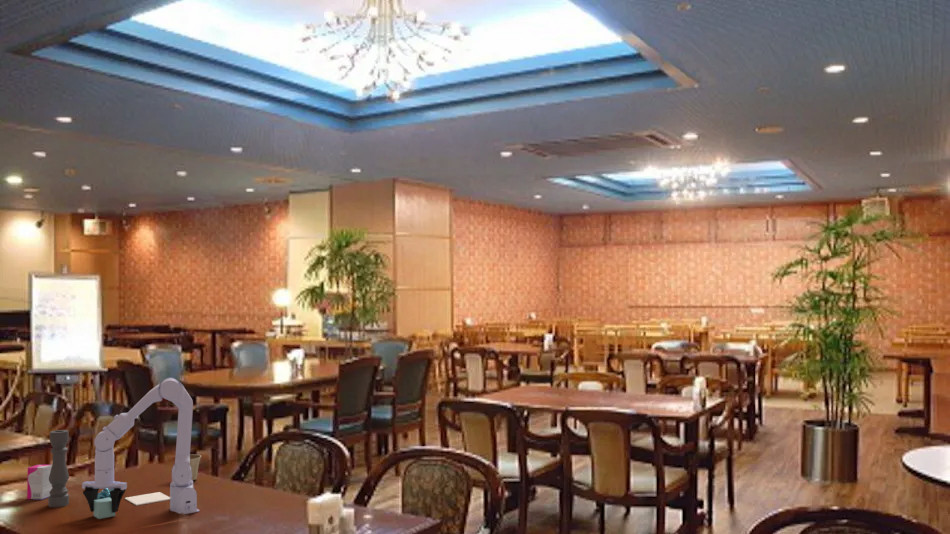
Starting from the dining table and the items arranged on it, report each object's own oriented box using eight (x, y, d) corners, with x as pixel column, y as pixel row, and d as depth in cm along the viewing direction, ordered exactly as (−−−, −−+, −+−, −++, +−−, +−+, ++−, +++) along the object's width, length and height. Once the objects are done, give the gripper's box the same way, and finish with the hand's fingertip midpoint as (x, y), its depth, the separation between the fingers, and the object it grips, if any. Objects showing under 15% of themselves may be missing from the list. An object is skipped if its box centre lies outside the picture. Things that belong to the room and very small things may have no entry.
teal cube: (115, 515, 256) (115, 500, 257) (98, 518, 253) (98, 503, 253) (109, 512, 260) (109, 497, 260) (93, 515, 257) (93, 500, 257)
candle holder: (60, 508, 266) (60, 433, 267) (44, 507, 268) (44, 432, 268) (73, 503, 272) (73, 430, 273) (57, 502, 274) (57, 429, 274)
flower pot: (196, 482, 302) (196, 459, 302) (171, 482, 302) (171, 459, 303) (204, 476, 312) (205, 454, 312) (181, 476, 312) (181, 454, 312)
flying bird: (111, 493, 287) (111, 483, 287) (127, 494, 285) (127, 484, 286) (80, 504, 273) (80, 493, 273) (97, 505, 271) (97, 494, 271)
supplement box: (52, 496, 282) (53, 464, 282) (42, 501, 276) (42, 467, 276) (37, 496, 282) (37, 463, 283) (26, 500, 277) (26, 467, 277)
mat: (171, 499, 277) (171, 498, 277) (136, 505, 269) (136, 504, 269) (159, 493, 286) (159, 491, 286) (124, 498, 278) (124, 497, 278)
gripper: (132, 466, 260) (132, 508, 259) (91, 465, 262) (91, 507, 262) (119, 471, 253) (119, 514, 252) (77, 470, 255) (77, 513, 255)
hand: (104, 511), depth 257 cm, fingers closed on teal cube, 7 cm apart
